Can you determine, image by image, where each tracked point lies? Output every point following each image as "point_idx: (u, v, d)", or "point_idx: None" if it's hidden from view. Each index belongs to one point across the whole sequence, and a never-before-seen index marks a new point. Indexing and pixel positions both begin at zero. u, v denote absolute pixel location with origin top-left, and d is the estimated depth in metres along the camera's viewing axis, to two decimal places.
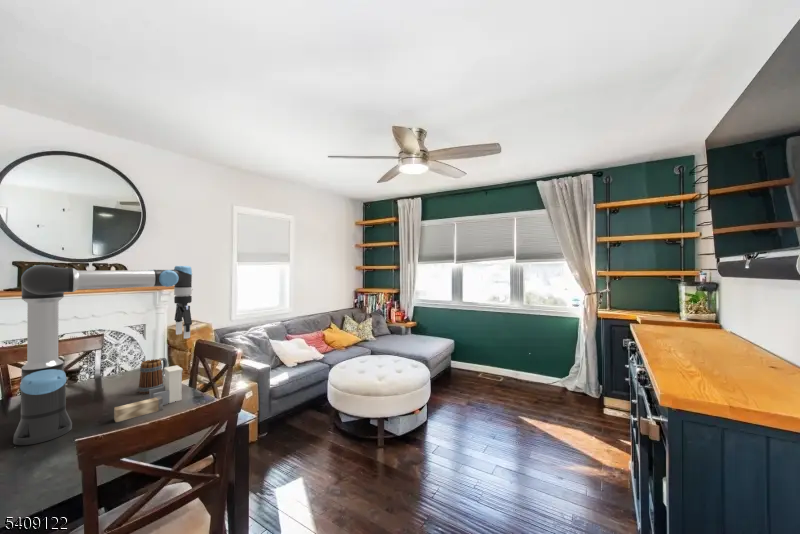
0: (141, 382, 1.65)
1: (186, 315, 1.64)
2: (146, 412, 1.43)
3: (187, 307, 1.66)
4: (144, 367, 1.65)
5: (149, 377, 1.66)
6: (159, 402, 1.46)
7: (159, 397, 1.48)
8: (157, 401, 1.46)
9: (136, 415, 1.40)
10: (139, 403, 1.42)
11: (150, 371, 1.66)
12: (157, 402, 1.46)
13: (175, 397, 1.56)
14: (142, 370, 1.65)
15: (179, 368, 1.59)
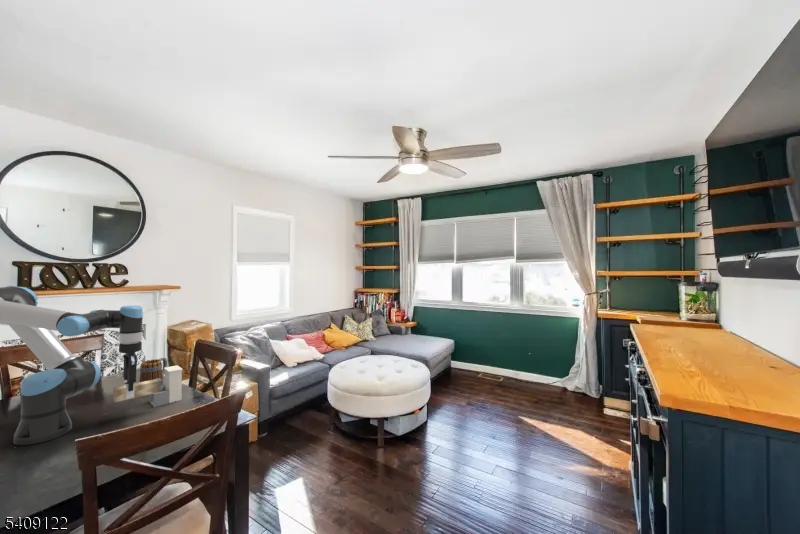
0: None
1: (130, 372, 1.36)
2: (145, 393, 1.43)
3: (133, 362, 1.36)
4: (144, 367, 1.65)
5: (149, 377, 1.66)
6: (158, 384, 1.46)
7: (158, 379, 1.48)
8: (156, 383, 1.46)
9: (135, 396, 1.40)
10: (138, 384, 1.42)
11: (150, 371, 1.66)
12: (156, 384, 1.46)
13: (175, 397, 1.56)
14: (142, 370, 1.65)
15: (179, 368, 1.59)
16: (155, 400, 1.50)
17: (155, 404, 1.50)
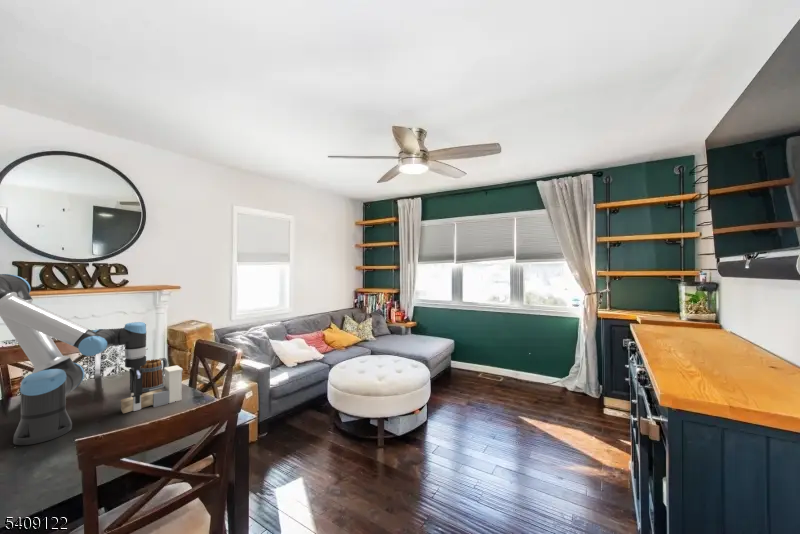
0: None
1: (136, 385, 1.44)
2: (151, 403, 1.51)
3: (138, 376, 1.44)
4: (144, 367, 1.65)
5: (149, 377, 1.66)
6: None
7: (163, 389, 1.56)
8: None
9: (142, 406, 1.48)
10: (144, 395, 1.50)
11: (150, 371, 1.66)
12: None
13: (175, 397, 1.56)
14: (142, 370, 1.65)
15: (179, 368, 1.59)
16: (155, 400, 1.50)
17: (155, 404, 1.50)
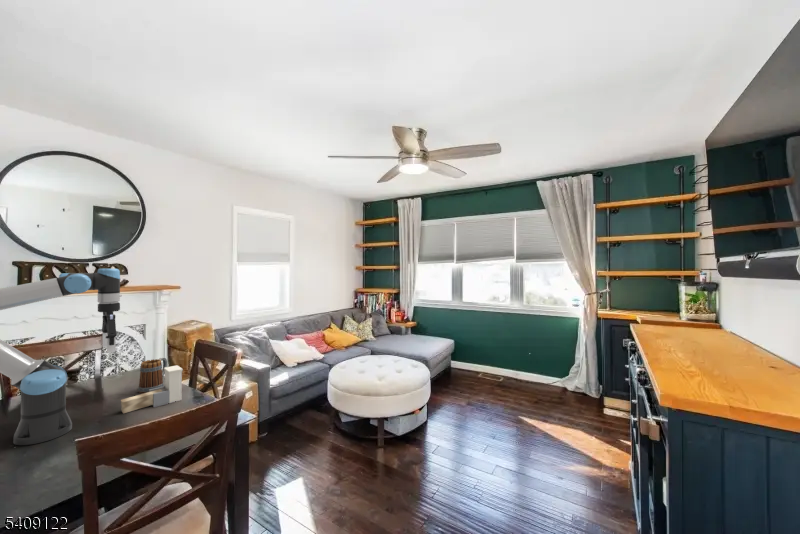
0: (141, 382, 1.65)
1: (109, 326, 1.42)
2: (151, 403, 1.51)
3: (111, 316, 1.43)
4: (144, 367, 1.65)
5: (149, 377, 1.66)
6: None
7: (163, 389, 1.56)
8: None
9: (142, 406, 1.48)
10: (144, 395, 1.50)
11: (150, 371, 1.66)
12: None
13: (175, 397, 1.56)
14: (142, 370, 1.65)
15: (179, 368, 1.59)
16: (155, 400, 1.50)
17: (155, 404, 1.50)
